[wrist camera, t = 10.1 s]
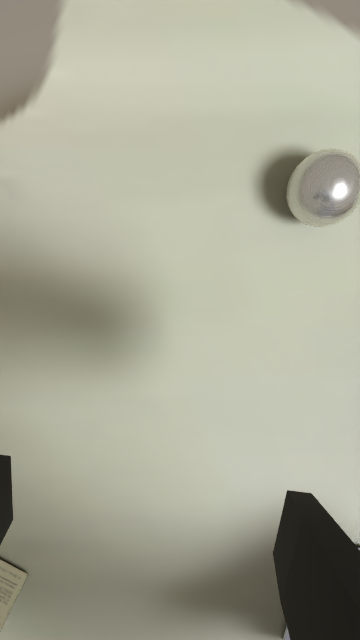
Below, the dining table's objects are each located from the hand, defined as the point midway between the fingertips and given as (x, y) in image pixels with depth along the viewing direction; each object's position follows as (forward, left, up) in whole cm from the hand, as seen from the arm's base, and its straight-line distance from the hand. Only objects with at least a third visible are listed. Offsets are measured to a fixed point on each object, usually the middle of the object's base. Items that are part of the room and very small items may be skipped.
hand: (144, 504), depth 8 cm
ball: (+10, -6, -9) cm, 14 cm away
